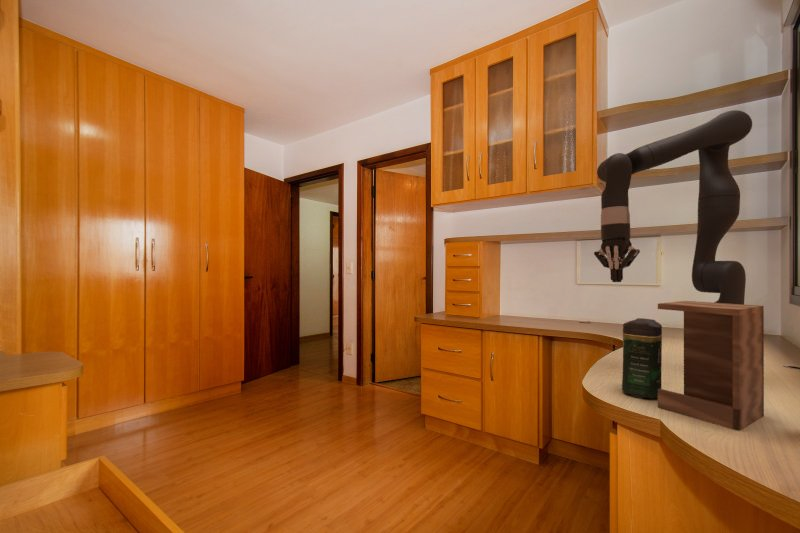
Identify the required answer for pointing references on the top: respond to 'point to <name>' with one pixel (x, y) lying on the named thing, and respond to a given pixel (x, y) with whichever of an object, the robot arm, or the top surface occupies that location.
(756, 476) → the top surface
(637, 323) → the coffee jar
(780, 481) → the top surface
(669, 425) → the top surface
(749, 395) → the walnut cubby
